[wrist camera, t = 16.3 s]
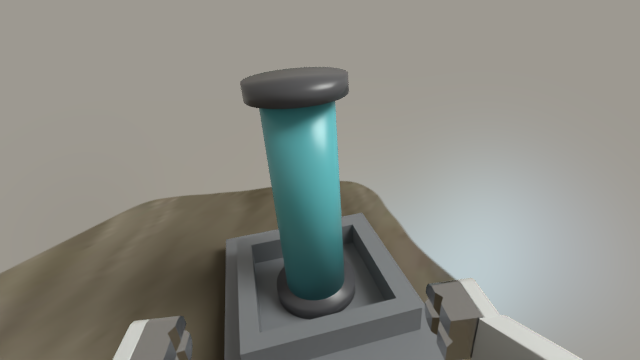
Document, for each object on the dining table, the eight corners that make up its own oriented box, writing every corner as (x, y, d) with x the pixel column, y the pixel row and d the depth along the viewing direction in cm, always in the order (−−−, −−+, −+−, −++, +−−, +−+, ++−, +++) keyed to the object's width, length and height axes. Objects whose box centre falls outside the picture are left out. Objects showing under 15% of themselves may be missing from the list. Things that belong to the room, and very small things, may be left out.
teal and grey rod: (367, 307, 24) (363, 79, 17) (284, 328, 23) (242, 94, 16) (342, 255, 29) (331, 63, 22) (273, 270, 28) (238, 74, 21)
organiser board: (465, 385, 20) (473, 346, 19) (228, 460, 18) (214, 422, 16) (362, 224, 36) (361, 196, 34) (229, 251, 33) (221, 222, 32)
